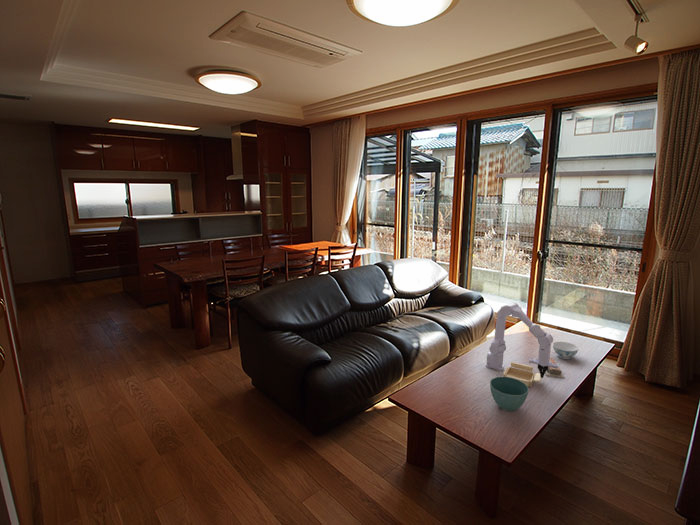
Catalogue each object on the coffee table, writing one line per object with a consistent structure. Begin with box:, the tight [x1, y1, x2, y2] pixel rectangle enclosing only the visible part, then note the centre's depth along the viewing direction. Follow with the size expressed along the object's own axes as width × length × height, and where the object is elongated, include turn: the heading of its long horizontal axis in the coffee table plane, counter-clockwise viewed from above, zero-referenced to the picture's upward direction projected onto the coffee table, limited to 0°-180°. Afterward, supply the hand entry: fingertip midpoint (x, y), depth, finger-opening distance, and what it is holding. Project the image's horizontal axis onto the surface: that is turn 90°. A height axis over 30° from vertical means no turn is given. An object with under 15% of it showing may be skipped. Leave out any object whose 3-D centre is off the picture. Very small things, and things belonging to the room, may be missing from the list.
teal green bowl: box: [489, 376, 530, 413], centre depth 189 cm, size 18×18×12 cm
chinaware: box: [552, 341, 579, 360], centre depth 244 cm, size 15×15×8 cm
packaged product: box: [544, 358, 565, 379], centre depth 227 cm, size 18×5×10 cm
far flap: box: [533, 372, 542, 383], centre depth 211 cm, size 1×10×4 cm
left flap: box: [510, 361, 534, 373], centre depth 221 cm, size 12×1×4 cm, turn 56°
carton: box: [502, 366, 536, 388], centre depth 217 cm, size 16×13×3 cm
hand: (542, 377), depth 210 cm, fingers closed
